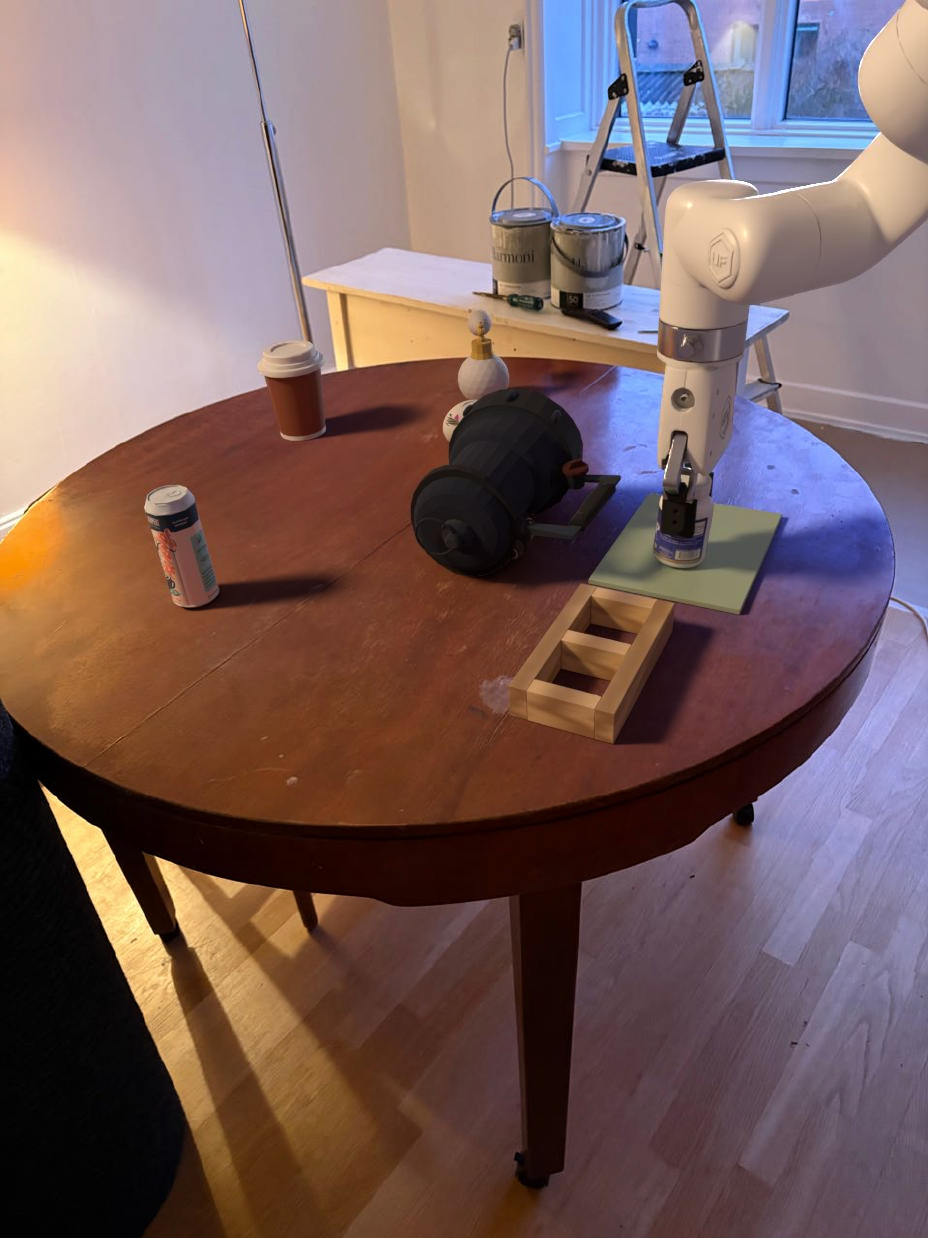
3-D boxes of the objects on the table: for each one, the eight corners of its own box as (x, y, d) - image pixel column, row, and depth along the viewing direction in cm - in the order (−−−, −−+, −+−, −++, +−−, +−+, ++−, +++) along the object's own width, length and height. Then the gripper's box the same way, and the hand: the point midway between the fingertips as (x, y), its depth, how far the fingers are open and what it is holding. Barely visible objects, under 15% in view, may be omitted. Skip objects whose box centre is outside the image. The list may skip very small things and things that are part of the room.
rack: (672, 631, 82) (675, 602, 80) (613, 744, 70) (614, 713, 68) (580, 611, 85) (580, 583, 84) (509, 715, 74) (508, 685, 72)
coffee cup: (341, 418, 130) (328, 336, 123) (327, 444, 122) (312, 358, 115) (281, 419, 131) (265, 338, 124) (263, 445, 123) (245, 360, 117)
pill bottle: (663, 536, 94) (674, 460, 88) (711, 550, 92) (726, 472, 86) (644, 560, 90) (655, 481, 85) (694, 575, 88) (708, 495, 83)
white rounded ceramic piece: (464, 466, 113) (460, 417, 110) (434, 453, 117) (430, 405, 114) (510, 447, 117) (508, 398, 114) (480, 435, 121) (477, 387, 118)
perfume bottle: (472, 414, 128) (467, 330, 121) (445, 394, 135) (438, 314, 128) (519, 403, 130) (516, 320, 123) (489, 383, 137) (485, 304, 130)
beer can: (172, 591, 93) (141, 488, 86) (218, 581, 94) (191, 479, 87) (174, 615, 90) (141, 509, 83) (222, 604, 90) (193, 499, 84)
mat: (781, 518, 97) (782, 513, 97) (739, 615, 83) (740, 609, 83) (648, 497, 104) (648, 492, 103) (588, 583, 89) (588, 578, 89)
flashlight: (466, 491, 107) (631, 507, 101) (399, 595, 92) (588, 621, 86) (453, 377, 98) (633, 386, 92) (376, 471, 83) (585, 490, 77)
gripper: (720, 375, 70) (700, 570, 81) (765, 313, 82) (743, 489, 93) (628, 366, 73) (621, 555, 84) (685, 307, 86) (673, 478, 96)
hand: (685, 518), depth 88 cm, fingers closed on pill bottle, 5 cm apart
